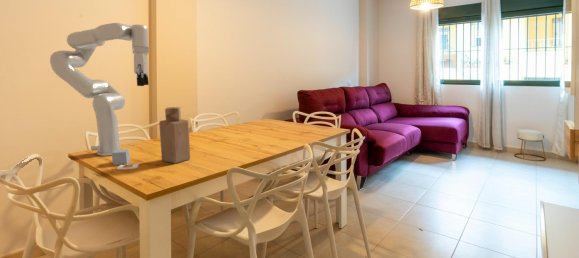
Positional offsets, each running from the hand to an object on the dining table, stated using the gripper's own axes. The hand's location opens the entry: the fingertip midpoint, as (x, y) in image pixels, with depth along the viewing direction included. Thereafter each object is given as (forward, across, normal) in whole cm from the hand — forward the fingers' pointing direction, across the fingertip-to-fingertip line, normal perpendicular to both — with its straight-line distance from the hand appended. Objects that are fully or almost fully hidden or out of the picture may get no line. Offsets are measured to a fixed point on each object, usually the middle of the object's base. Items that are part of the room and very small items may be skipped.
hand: (143, 85), depth 164 cm
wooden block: (+36, +16, +17) cm, 43 cm away
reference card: (+36, +23, -3) cm, 43 cm away
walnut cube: (+16, +16, +16) cm, 27 cm away
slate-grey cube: (+36, +15, -8) cm, 40 cm away
